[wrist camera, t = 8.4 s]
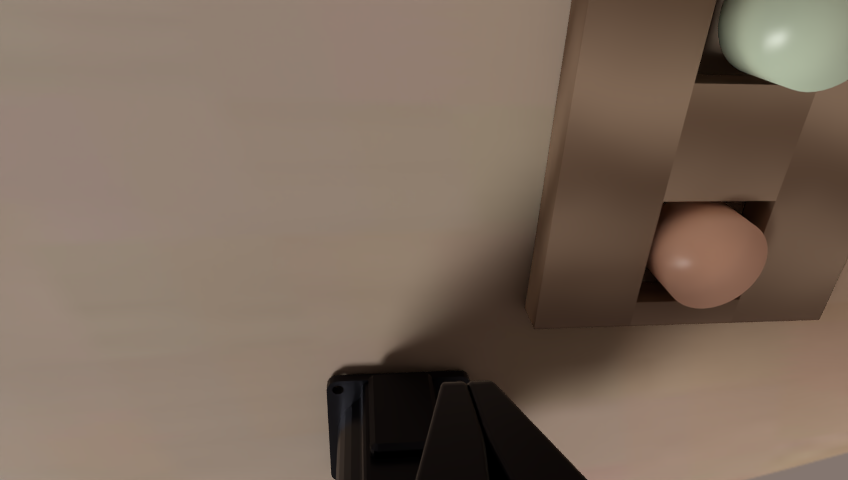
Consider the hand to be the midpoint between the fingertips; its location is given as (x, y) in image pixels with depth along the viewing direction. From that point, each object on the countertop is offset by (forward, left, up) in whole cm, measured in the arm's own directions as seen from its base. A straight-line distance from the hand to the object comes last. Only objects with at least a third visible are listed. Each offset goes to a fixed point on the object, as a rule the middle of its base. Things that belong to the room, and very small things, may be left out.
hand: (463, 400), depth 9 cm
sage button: (+5, -12, -12) cm, 17 cm away
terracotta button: (-4, -12, -13) cm, 18 cm away
